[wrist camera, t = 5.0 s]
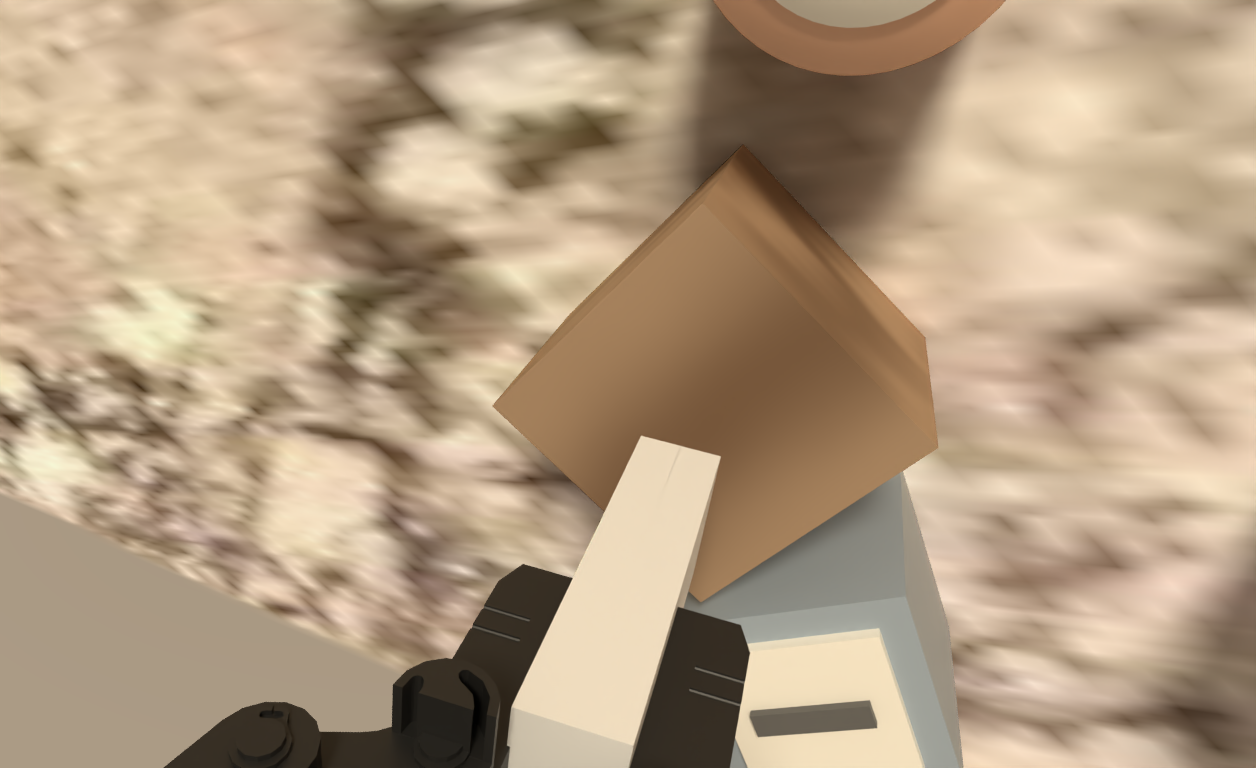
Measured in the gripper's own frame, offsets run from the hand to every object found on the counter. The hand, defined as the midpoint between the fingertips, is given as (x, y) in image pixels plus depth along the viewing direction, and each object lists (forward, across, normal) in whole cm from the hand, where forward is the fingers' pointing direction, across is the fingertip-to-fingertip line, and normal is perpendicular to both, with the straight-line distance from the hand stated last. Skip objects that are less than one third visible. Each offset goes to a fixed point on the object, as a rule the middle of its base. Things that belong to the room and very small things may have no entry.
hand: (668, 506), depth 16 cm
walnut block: (+9, 0, 0) cm, 9 cm away
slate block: (+9, +4, -7) cm, 12 cm away
